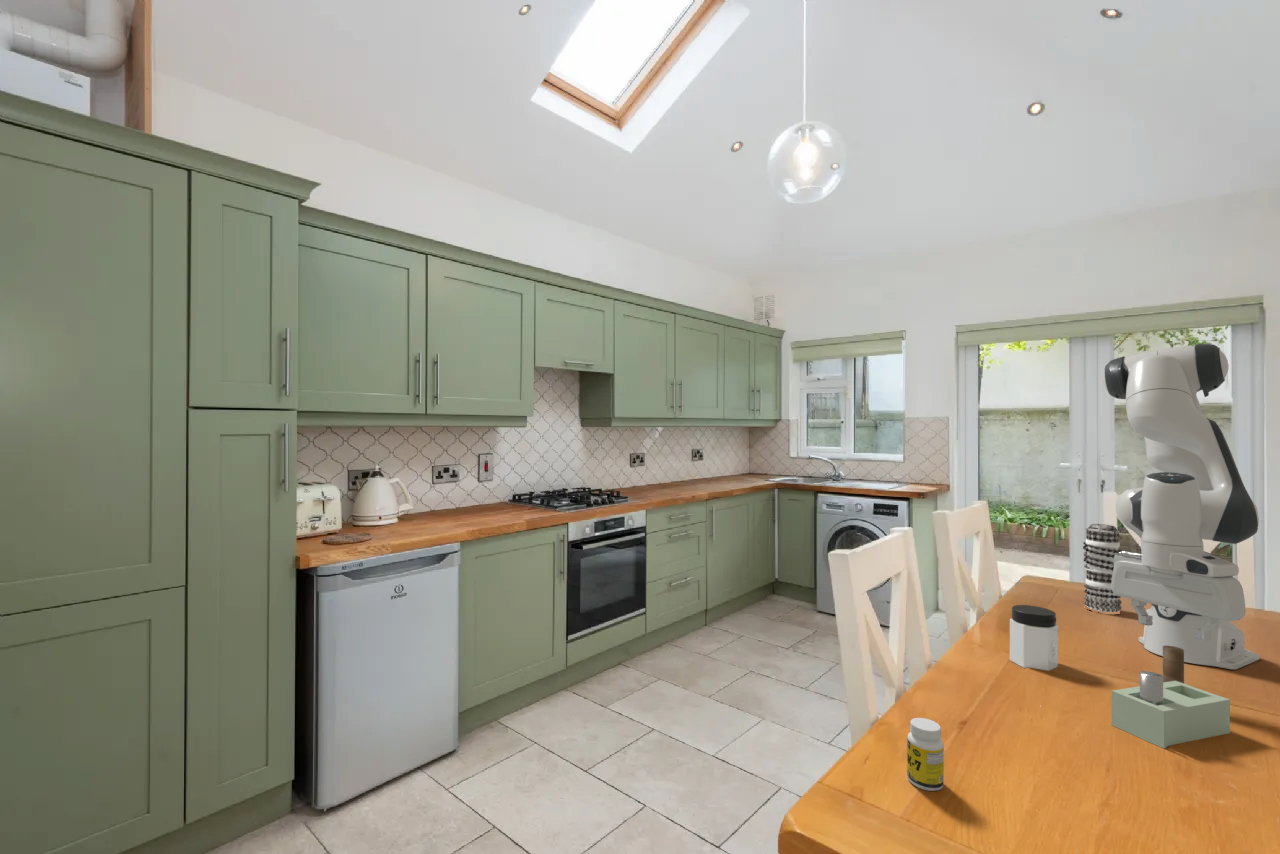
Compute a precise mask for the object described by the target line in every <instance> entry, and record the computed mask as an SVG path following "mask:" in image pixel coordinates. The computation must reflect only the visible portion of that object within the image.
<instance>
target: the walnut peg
mask: <svg viewBox="0 0 1280 854" xmlns="http://www.w3.org/2000/svg"><path fill="white" fill-rule="evenodd" d="M1162 676H1163V682H1170V681H1178V682H1181V683H1183V684H1185V662H1184V650H1183V649H1181V648H1178V647H1174V646H1163V656H1162Z"/></svg>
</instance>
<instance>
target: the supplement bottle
mask: <svg viewBox="0 0 1280 854" xmlns="http://www.w3.org/2000/svg"><path fill="white" fill-rule="evenodd" d="M909 722H910V725H909V730H910V731H909V732H908V734H907V753H906V755H907V756H906V757H907V758H906V759H907V761H906V763H907V765H906V766H907V768H906V769H907V770H906V773H907V779H908V781H909V782H910V783H911V784H912V785H913V786H915V787H917V788H918V789H921V790H924V791H930V792H934V791H935V792H936V791H939V790H942V788H943V787H944V775H945V773H944V766H945V764H944V761H945V760H944V757H945V756H944V752H945V751H944V749H945V748H944V741H943V740H942V738H941V737H942V729H941V726H940V724H939V723H937V722H936V721H934V720H932V719H929V718H924V717H915V718H911V720H910V721H909Z"/></svg>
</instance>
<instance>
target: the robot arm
mask: <svg viewBox="0 0 1280 854" xmlns="http://www.w3.org/2000/svg"><path fill="white" fill-rule="evenodd" d="M1228 371H1229V361H1228V358H1227V357H1226V355H1225V353H1224V351H1222V350H1221V348H1220V347H1219V346H1217V345H1216V344H1213V343H1212V344H1211V343H1196V344H1195V345H1188V346H1176V347H1175V346H1173V347H1166V348H1165V347H1164V348H1159V349H1157V350H1150V351H1147V352H1142V353H1136V354H1133V355H1129V356H1121V357H1117V358H1113V359H1111V360H1109V362H1108V363H1107V364H1106V365H1104V371H1103V374H1102V383H1103V386H1104V388H1105V389H1106V391H1107V392H1108V394H1109V395H1110V396H1111V397H1113V398H1115V399H1119V400H1125V408H1126V410H1125V411H1126V415H1127V420H1128V423H1129V425H1130V426H1131V428H1132V429H1133V430H1134V431H1136V433H1138V434H1139V435H1141V436H1142V437H1144V443H1145V453H1146V459H1147V461H1148V463H1149V464H1150V466H1152V467H1153V468H1154V469H1157V470H1158V471H1160V472H1153V473H1150V474H1148V475H1145V477H1144V480H1143V484H1142V487H1135V488H1129V489H1125V490H1124V491H1123V492H1122V493H1120V495H1119V496H1118V498H1117V501H1116V504H1115V511H1116V514H1117V517H1118V519H1119V520H1120V522H1121V523H1122V524H1123V525H1124V526H1125V527H1126V528H1128V529H1129V530H1131V531H1132V532H1133V533H1135V534H1136V535H1137V536H1138V537H1139V538H1140V540H1141V541H1140V543H1141V545H1140V548H1141V551H1140V552H1130V551H1128V550H1121V552H1120V553H1117V554H1116V555H1115V556H1114V569H1113V574H1112V582H1111V590H1112V591H1113V593H1114V594H1115V595H1116V596H1120V598H1125V599H1129V600H1131V606H1132V608H1133V609H1134V611H1135V612H1136V614H1137V616H1138V617H1137V618H1138V624H1140V625H1143V626H1144V629H1143V636H1138V642H1139V643H1140V644H1142V645H1143V648H1145V650H1147V651H1149V652H1151V653H1153V654H1155V655H1158V656H1161V657H1163V646H1174V647H1178V648H1181V649H1183V650H1184V663H1188V664H1194V665H1200V666H1208V667H1210V666H1211V667H1216V668H1217V667H1218V668H1221V669H1226V670H1238V669H1240V668H1243V667H1245V666H1247V665H1250V664H1252V663H1254V662H1257V661H1259V660H1260V655H1259V654H1258V653H1256V652H1254V651H1251V650H1249V649H1246V648H1245V646H1246V645H1245V635H1244V631H1242V629H1240V628H1239V627H1238V626H1237V625H1236V624H1234V623H1233V622H1236V621H1237V622H1238V621H1240V620H1242V619H1243V618H1244V617H1245V616H1246V599H1245V594H1244V588H1243V585H1242V583H1241V582H1240V580H1238V579H1237V578H1236V577H1235V576H1238V575H1239V573H1240V569H1239V566H1238V565H1237V564H1236V563H1233V562H1231V561H1229V560H1226V559H1223V558H1221V557H1219V556H1216V555H1214V554H1212V553H1209V552H1207V551H1206V550H1205V549H1204V541H1203V540H1208V541H1212V542H1220V543H1224V544H1230V545H1231V544H1233V545H1236V544H1239V543H1241V542H1244V541H1246V540H1248V539H1250V538H1251V537H1253V536H1254V535H1256V534H1257V533H1258V530H1259V525H1260V524H1259V523H1260V518H1259V512H1258V507H1257V505H1256V503H1255V502H1254V501H1253V499H1252V498H1251V496H1250V494H1249V493H1248V491H1247V489H1246V487H1245V485H1244V483H1243V480H1242V477H1241V473H1239V469H1238V467H1237V464H1236V462H1235V460H1234V457H1233V454H1232V452H1231V449H1230V447H1229V445H1228V442H1227V440H1226V437H1225V436H1224V433H1223V431H1222V429H1221V428H1220V427H1219V425H1218V424H1217V422H1216V421H1215V420H1212V419H1210V418H1208V417H1205V416H1204V414H1203V411H1202V407H1201V404H1200V401H1199V399H1198V396H1197V393H1198V392H1200V391H1202V393H1203V396H1204V398H1206V397H1209V396H1210V395H1209V394H1210V392H1212V391H1214V390H1216V389H1218V388H1219V387H1220V386H1221V385H1222V384H1223V383H1224V382H1225V381H1226V377H1227V375H1228ZM1147 603H1148V604H1151V606H1150V608H1148V609H1146V608H1145V607H1146V606H1147Z"/></svg>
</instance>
